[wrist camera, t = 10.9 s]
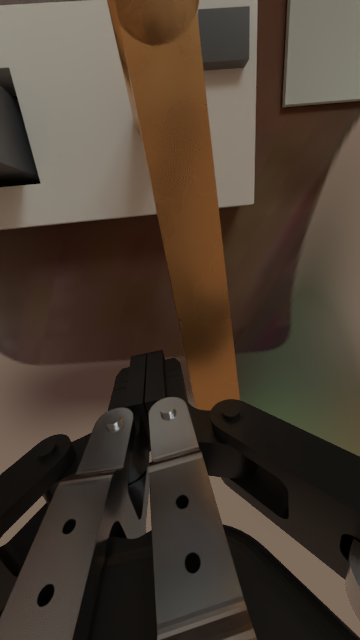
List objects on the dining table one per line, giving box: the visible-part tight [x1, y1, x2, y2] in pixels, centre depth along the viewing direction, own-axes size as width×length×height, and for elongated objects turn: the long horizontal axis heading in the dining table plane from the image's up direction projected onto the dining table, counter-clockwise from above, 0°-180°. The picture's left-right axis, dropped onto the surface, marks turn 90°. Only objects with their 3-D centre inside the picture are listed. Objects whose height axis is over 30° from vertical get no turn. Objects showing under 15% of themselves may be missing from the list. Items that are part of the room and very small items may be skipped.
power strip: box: [0, 0, 258, 230], centre depth 15 cm, size 10×22×4 cm, turn 95°
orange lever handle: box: [107, 0, 240, 410], centre depth 13 cm, size 2×16×9 cm, turn 10°
